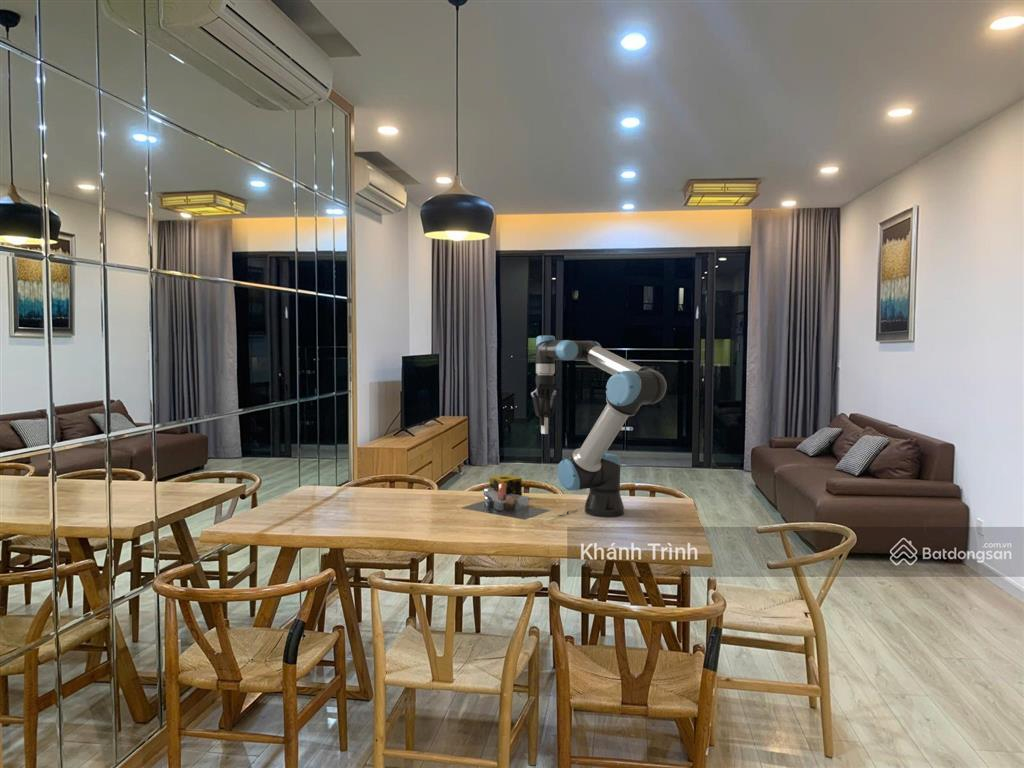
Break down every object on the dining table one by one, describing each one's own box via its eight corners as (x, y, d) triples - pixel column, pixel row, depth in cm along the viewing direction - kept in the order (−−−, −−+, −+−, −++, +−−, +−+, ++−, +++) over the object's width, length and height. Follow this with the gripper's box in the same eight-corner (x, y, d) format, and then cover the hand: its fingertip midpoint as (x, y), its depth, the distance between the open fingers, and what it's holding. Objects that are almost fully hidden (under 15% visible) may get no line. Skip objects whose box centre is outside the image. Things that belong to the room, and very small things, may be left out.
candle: (508, 497, 283) (508, 474, 283) (522, 501, 275) (523, 477, 275) (488, 500, 277) (488, 476, 277) (503, 505, 269) (503, 480, 269)
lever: (482, 504, 261) (482, 475, 260) (493, 503, 263) (493, 475, 262) (498, 515, 244) (498, 484, 243) (509, 514, 245) (510, 483, 245)
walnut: (519, 507, 258) (519, 497, 258) (512, 509, 254) (512, 499, 254) (510, 505, 261) (510, 495, 260) (503, 507, 257) (503, 497, 257)
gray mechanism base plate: (550, 514, 254) (551, 499, 254) (524, 523, 239) (524, 508, 239) (488, 503, 271) (488, 489, 271) (460, 511, 257) (460, 497, 256)
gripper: (552, 374, 271) (552, 431, 272) (526, 374, 264) (525, 433, 265) (563, 374, 265) (563, 433, 266) (537, 375, 257) (536, 435, 259)
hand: (544, 433), depth 265 cm, fingers closed
